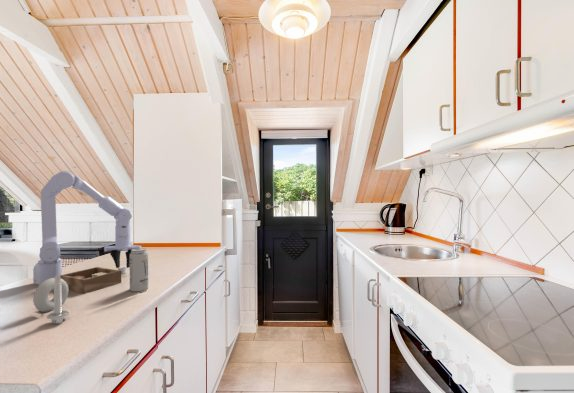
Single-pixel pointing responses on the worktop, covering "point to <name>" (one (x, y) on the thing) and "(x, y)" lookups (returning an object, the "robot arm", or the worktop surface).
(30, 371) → the worktop surface
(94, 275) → the cream block
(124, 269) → the lid
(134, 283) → the energy drink can
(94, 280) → the storage box
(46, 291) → the donut
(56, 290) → the screw
